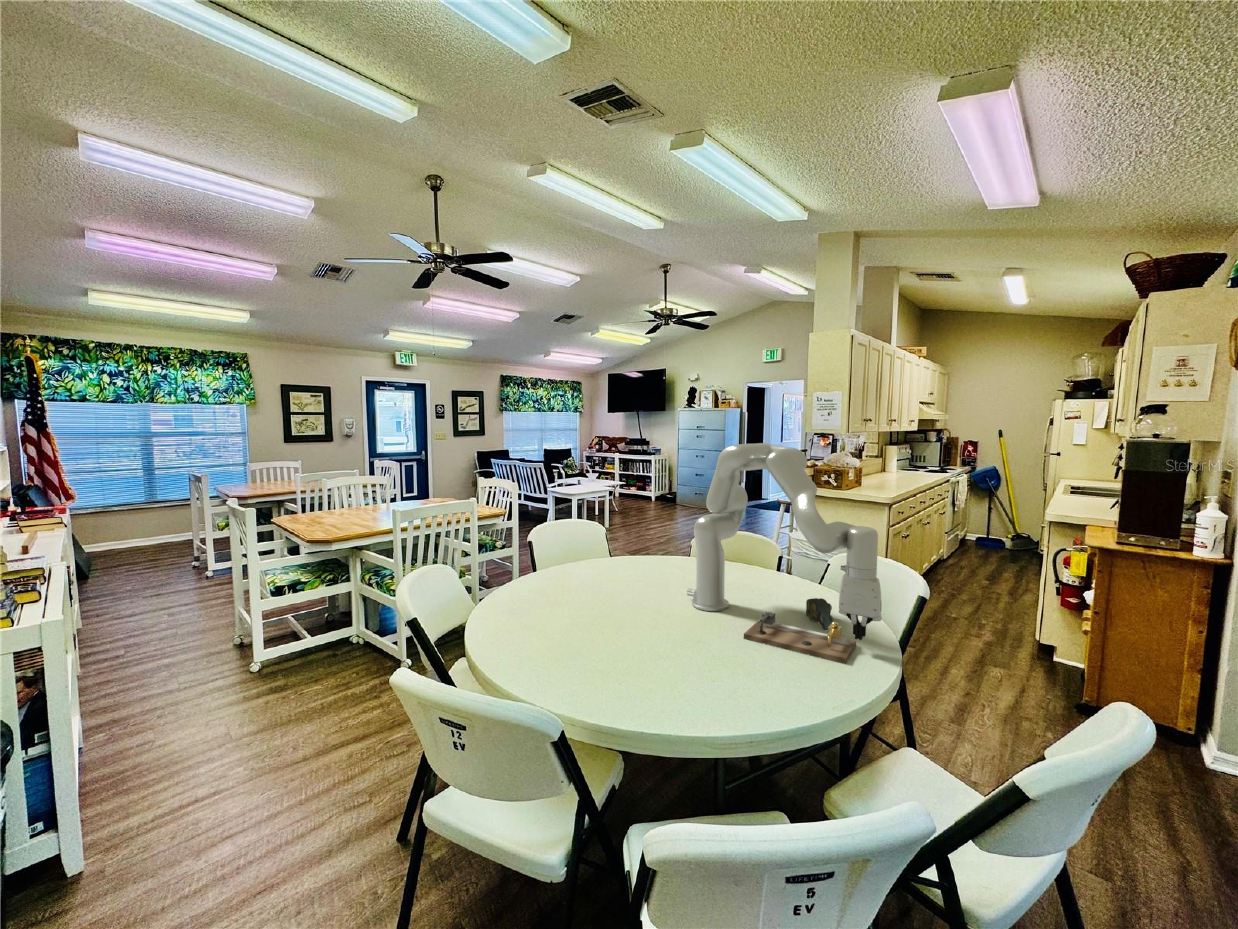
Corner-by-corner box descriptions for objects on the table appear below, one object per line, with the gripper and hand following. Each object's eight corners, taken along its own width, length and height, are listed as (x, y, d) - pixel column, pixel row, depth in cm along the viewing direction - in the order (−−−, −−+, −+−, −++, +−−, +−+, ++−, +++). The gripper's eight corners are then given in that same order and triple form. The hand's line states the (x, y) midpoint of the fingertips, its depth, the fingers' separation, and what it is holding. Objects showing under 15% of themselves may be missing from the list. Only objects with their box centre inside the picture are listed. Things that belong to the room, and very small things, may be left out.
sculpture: (838, 631, 155) (839, 609, 155) (816, 631, 156) (817, 608, 155) (824, 615, 168) (825, 594, 168) (804, 615, 169) (805, 594, 168)
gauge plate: (743, 638, 151) (743, 621, 150) (759, 624, 161) (759, 607, 161) (845, 664, 134) (846, 644, 134) (856, 646, 145) (856, 628, 145)
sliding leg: (823, 645, 141) (823, 629, 140) (830, 635, 147) (830, 620, 147) (834, 648, 139) (835, 631, 138) (841, 638, 145) (841, 622, 145)
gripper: (828, 571, 141) (827, 636, 142) (889, 580, 132) (887, 649, 134) (835, 565, 147) (833, 627, 148) (894, 573, 138) (891, 639, 140)
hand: (859, 637), depth 141 cm, fingers closed
